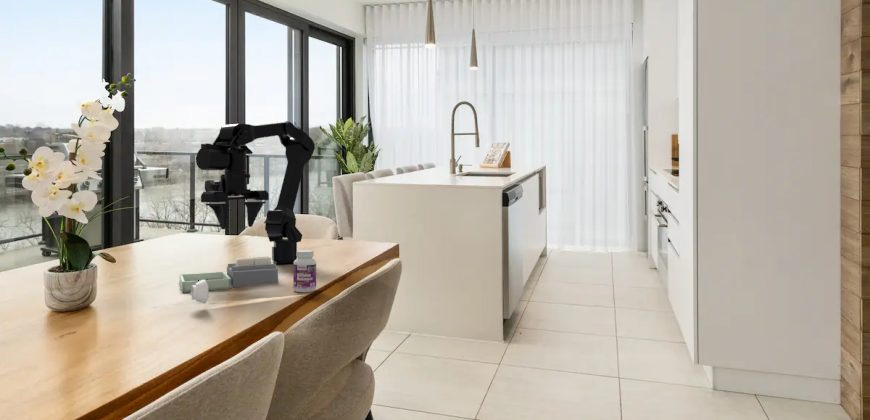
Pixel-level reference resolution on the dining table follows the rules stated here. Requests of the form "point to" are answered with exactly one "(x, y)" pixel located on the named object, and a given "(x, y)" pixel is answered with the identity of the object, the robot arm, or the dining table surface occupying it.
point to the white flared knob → (200, 291)
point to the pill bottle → (304, 272)
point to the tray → (216, 284)
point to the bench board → (252, 274)
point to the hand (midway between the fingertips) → (237, 228)
